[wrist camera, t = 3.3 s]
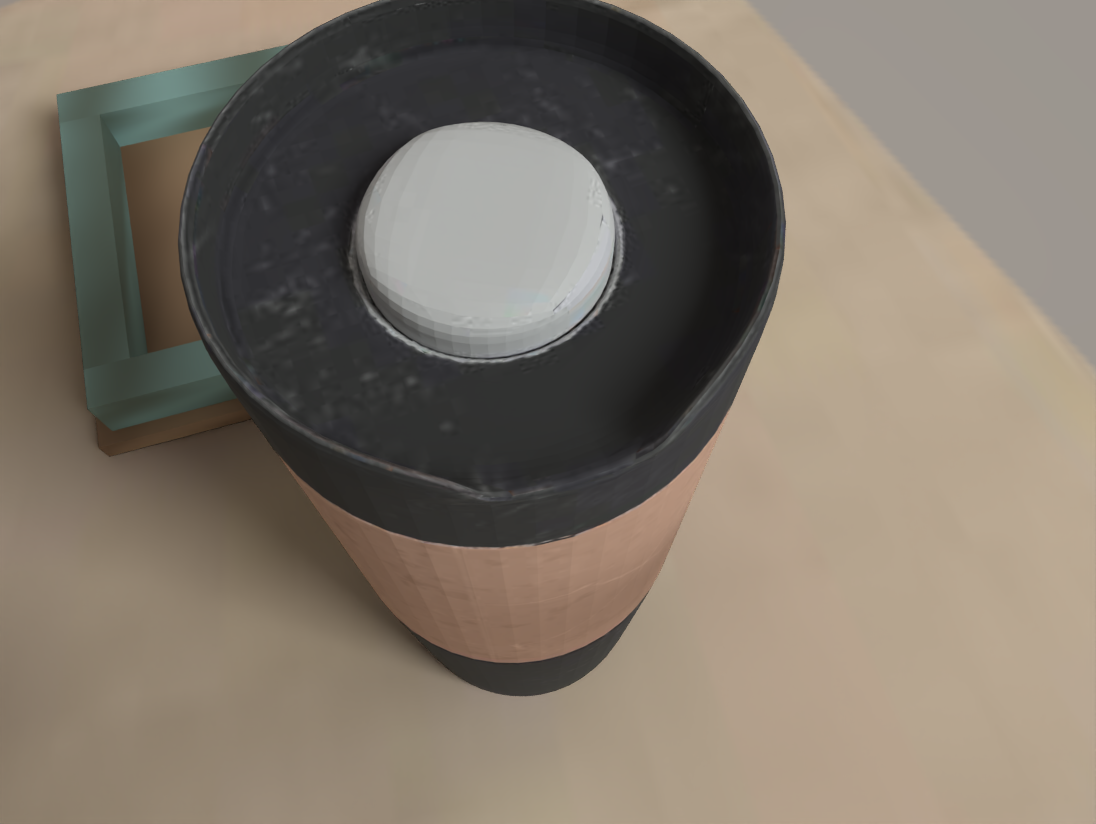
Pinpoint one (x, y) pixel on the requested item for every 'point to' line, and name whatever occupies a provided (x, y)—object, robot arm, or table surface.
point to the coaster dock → (143, 250)
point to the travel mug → (489, 305)
